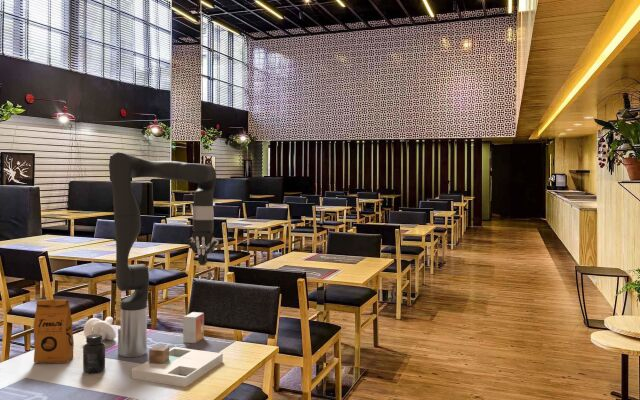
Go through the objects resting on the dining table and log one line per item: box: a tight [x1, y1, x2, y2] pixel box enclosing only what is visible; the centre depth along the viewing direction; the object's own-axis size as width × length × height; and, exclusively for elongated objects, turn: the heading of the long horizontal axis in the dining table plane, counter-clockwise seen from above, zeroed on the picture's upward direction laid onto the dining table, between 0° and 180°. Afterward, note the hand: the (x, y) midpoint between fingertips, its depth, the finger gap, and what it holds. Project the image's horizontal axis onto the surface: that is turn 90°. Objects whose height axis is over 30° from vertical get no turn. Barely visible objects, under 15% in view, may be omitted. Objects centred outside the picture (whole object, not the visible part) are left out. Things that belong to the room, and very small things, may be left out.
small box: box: [182, 311, 205, 344], centre depth 205 cm, size 8×6×10 cm
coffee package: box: [33, 299, 75, 364], centre depth 179 cm, size 10×12×22 cm
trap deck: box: [131, 346, 223, 388], centre depth 173 cm, size 20×24×3 cm
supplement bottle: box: [82, 334, 106, 375], centre depth 170 cm, size 7×7×12 cm
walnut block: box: [148, 345, 170, 364], centre depth 172 cm, size 5×5×4 cm
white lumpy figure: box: [83, 316, 117, 341], centre depth 202 cm, size 11×12×9 cm
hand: (202, 264), depth 187 cm, fingers closed
